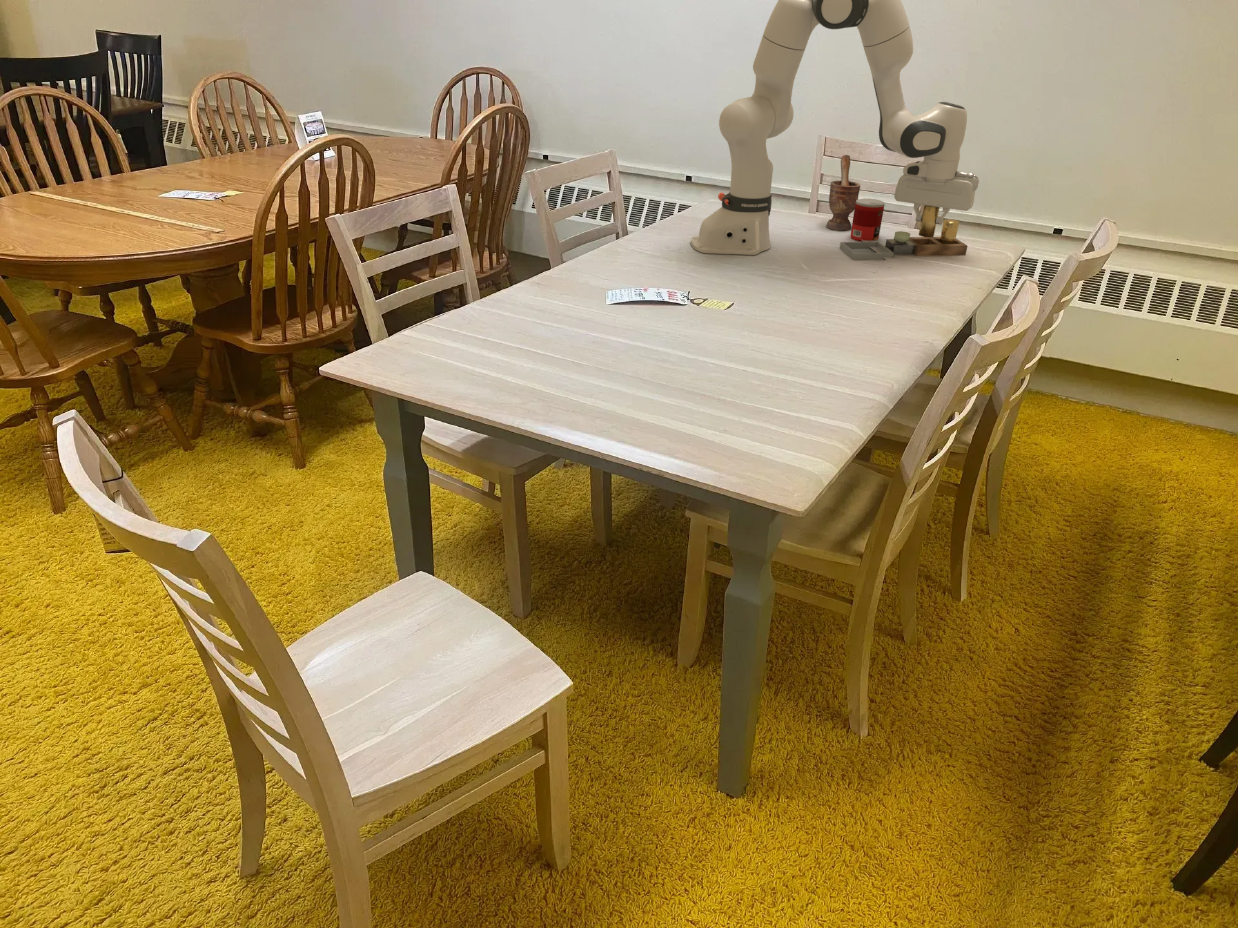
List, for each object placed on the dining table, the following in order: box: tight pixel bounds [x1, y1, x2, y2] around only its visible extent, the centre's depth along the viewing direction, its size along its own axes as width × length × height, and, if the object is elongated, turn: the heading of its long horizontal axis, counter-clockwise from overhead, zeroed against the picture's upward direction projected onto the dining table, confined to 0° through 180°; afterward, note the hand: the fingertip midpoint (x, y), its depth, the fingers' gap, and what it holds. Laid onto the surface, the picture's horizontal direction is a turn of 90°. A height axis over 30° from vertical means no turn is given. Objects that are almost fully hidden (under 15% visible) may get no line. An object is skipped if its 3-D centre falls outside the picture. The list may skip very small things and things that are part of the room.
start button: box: [893, 230, 911, 244], centre depth 228 cm, size 4×4×5 cm
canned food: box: [850, 198, 885, 242], centre depth 239 cm, size 8×8×11 cm
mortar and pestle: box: [826, 154, 861, 232], centre depth 249 cm, size 12×9×20 cm
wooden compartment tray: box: [909, 236, 968, 257], centre depth 230 cm, size 14×9×4 cm, turn 96°
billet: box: [918, 205, 941, 237], centre depth 225 cm, size 4×4×8 cm
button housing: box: [884, 238, 916, 256], centre depth 229 cm, size 6×6×4 cm
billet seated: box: [939, 218, 960, 244], centre depth 228 cm, size 4×4×8 cm
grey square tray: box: [839, 240, 895, 261], centre depth 228 cm, size 11×11×2 cm
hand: (928, 222), depth 225 cm, fingers closed on billet, 4 cm apart
